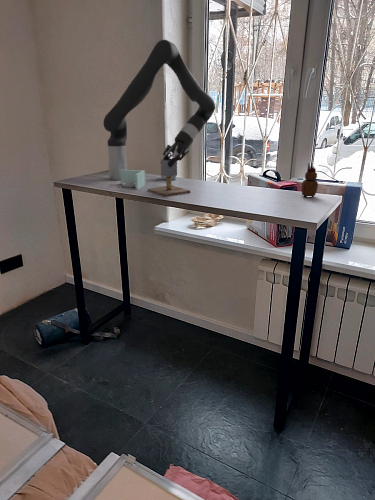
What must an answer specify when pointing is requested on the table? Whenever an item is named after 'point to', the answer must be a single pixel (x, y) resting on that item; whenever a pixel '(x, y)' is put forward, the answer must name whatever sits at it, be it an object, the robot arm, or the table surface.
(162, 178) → the medicine box
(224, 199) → the table surface
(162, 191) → the post stand
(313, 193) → the wooden figurine
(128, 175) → the l-shaped corner panel
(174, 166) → the collar
